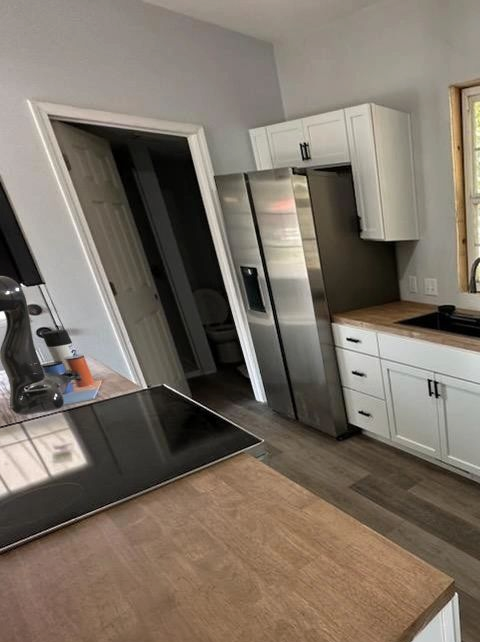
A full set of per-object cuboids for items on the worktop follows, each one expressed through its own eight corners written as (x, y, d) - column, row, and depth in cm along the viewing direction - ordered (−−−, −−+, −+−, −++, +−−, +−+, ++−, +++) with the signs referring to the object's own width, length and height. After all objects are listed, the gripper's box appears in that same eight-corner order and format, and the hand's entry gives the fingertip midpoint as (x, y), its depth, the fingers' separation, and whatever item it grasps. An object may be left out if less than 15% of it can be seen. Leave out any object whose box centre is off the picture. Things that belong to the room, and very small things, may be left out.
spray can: (85, 381, 159) (64, 331, 152) (61, 385, 156) (38, 334, 149) (90, 377, 164) (69, 328, 157) (66, 381, 161) (44, 331, 154)
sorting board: (35, 410, 133) (34, 409, 133) (50, 391, 151) (49, 389, 150) (94, 399, 141) (93, 397, 141) (101, 381, 159) (101, 380, 159)
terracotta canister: (75, 388, 151) (62, 359, 147) (77, 384, 154) (65, 356, 151) (94, 384, 154) (82, 356, 150) (96, 381, 157) (84, 353, 154)
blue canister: (52, 396, 143) (38, 366, 139) (55, 392, 147) (42, 363, 143) (73, 392, 146) (60, 363, 142) (75, 388, 150) (63, 360, 146)
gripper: (74, 371, 137) (81, 360, 149) (10, 381, 128) (24, 369, 141) (83, 391, 139) (90, 379, 152) (21, 403, 131) (33, 389, 144)
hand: (58, 374), depth 146 cm, fingers closed on blue canister, 5 cm apart
